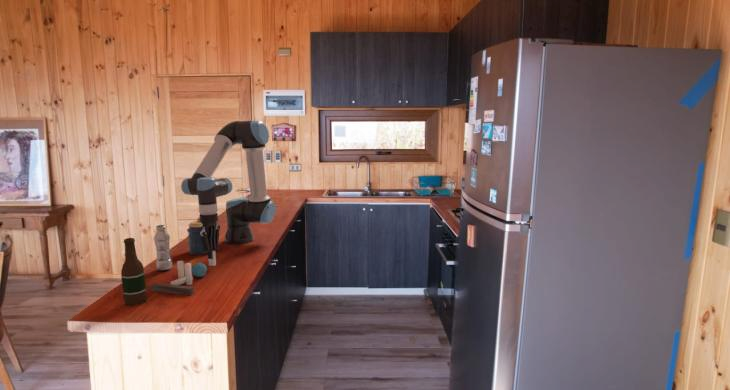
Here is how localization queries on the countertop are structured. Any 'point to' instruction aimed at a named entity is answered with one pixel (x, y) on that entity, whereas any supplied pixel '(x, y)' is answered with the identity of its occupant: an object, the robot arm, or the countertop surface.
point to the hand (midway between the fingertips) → (212, 265)
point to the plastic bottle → (162, 248)
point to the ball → (199, 269)
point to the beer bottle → (133, 276)
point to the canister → (195, 238)
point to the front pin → (179, 281)
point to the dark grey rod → (172, 289)
